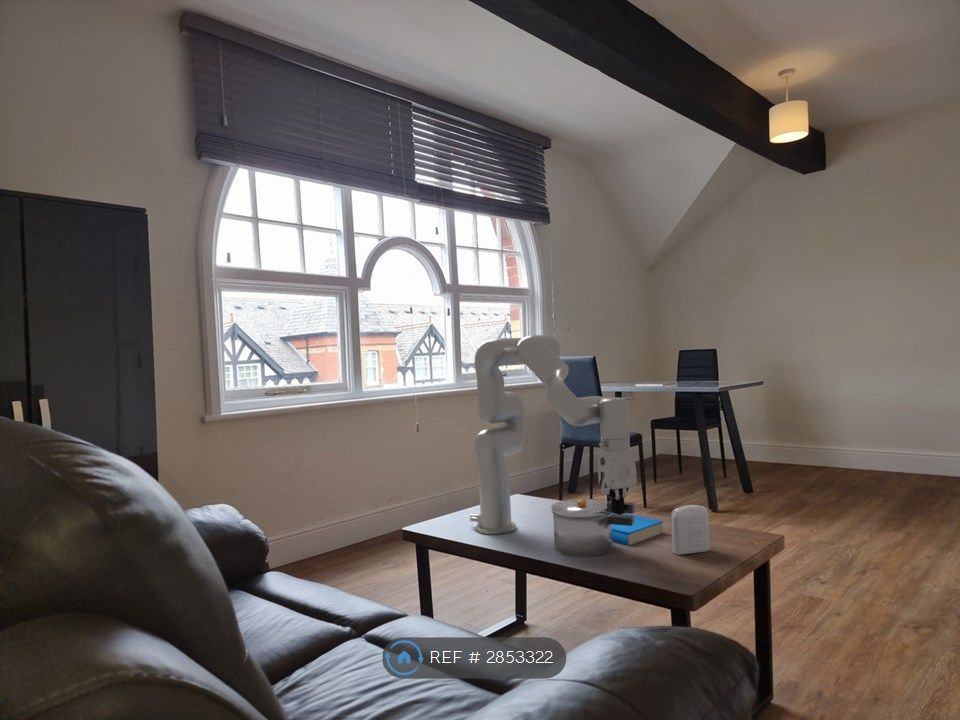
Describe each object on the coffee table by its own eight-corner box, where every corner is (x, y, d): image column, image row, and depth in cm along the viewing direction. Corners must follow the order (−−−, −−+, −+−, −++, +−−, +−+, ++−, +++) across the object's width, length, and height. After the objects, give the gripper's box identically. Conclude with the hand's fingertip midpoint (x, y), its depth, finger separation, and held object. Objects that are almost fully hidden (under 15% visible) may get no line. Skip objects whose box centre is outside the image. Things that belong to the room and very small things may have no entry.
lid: (542, 515, 174) (542, 505, 173) (563, 501, 188) (563, 491, 188) (626, 522, 163) (625, 511, 163) (641, 507, 178) (641, 496, 178)
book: (596, 507, 207) (663, 519, 188) (597, 520, 207) (664, 534, 188) (561, 518, 196) (628, 531, 177) (561, 532, 196) (628, 547, 177)
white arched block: (703, 547, 173) (701, 501, 173) (712, 551, 169) (710, 505, 169) (669, 551, 170) (667, 505, 170) (678, 556, 166) (676, 509, 166)
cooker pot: (546, 553, 173) (545, 516, 173) (564, 537, 188) (563, 503, 188) (627, 561, 164) (626, 522, 164) (640, 543, 178) (638, 508, 178)
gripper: (604, 449, 162) (607, 521, 162) (645, 442, 170) (648, 511, 170) (584, 446, 168) (587, 515, 168) (625, 439, 176) (627, 506, 176)
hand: (618, 513), depth 169 cm, fingers closed
